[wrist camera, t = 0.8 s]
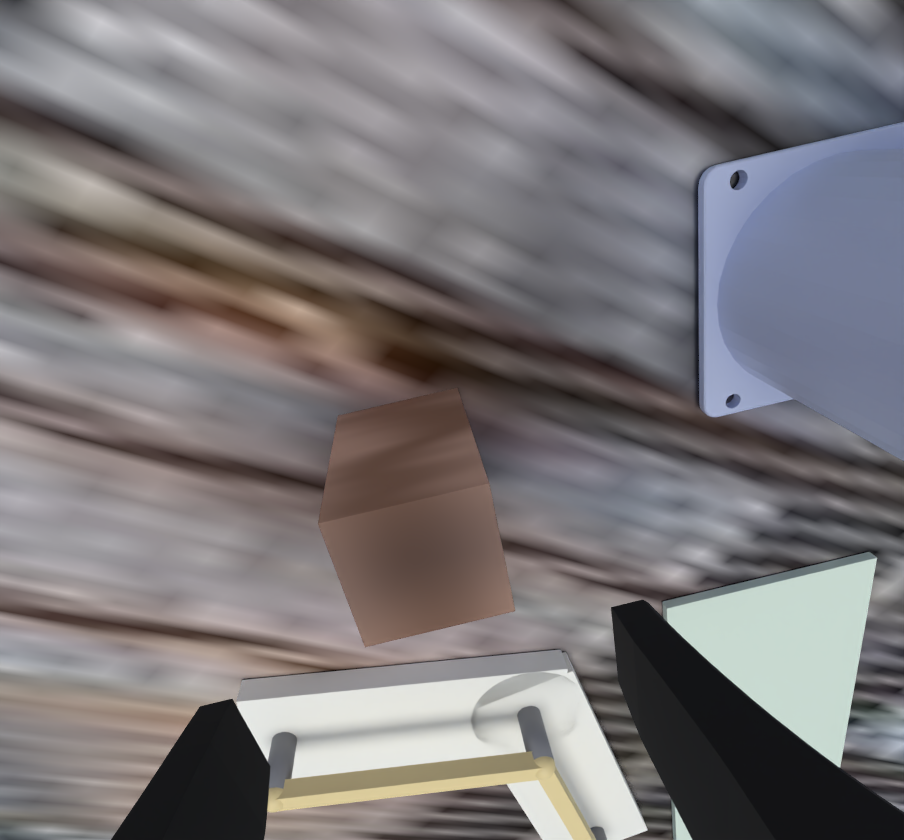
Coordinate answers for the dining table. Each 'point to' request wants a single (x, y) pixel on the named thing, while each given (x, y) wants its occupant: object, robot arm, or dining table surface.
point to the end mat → (786, 645)
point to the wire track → (444, 739)
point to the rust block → (412, 520)
